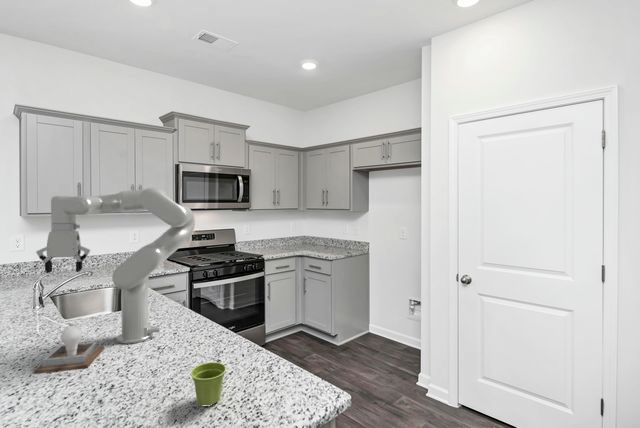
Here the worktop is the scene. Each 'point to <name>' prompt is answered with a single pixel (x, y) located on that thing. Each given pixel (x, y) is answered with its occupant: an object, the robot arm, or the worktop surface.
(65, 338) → the lightbulb
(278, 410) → the worktop surface
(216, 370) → the plant pot
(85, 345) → the square picture frame
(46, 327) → the worktop surface
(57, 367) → the socket base
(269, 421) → the worktop surface
